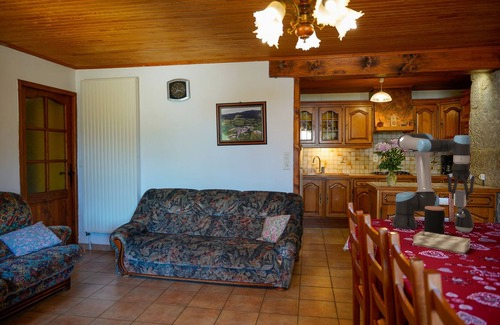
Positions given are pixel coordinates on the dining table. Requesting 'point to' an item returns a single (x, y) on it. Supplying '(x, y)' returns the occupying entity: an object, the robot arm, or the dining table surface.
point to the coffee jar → (434, 220)
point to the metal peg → (459, 202)
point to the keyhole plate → (442, 242)
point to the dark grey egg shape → (464, 222)
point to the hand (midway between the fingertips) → (459, 205)
